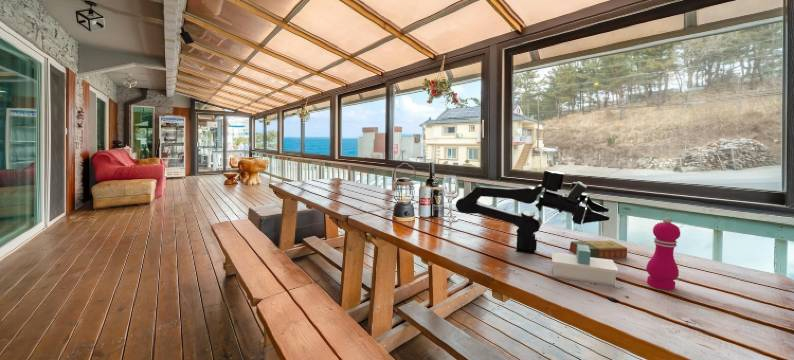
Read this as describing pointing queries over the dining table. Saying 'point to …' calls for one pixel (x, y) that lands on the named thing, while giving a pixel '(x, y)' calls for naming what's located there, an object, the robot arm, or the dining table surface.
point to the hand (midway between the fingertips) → (608, 214)
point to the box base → (584, 275)
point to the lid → (584, 260)
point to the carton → (601, 249)
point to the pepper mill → (663, 256)
